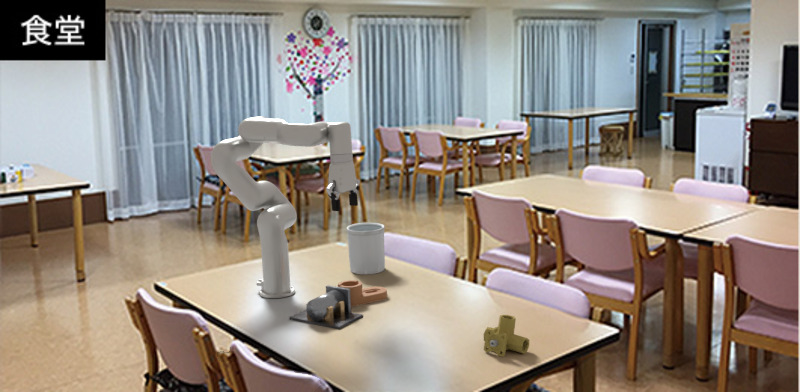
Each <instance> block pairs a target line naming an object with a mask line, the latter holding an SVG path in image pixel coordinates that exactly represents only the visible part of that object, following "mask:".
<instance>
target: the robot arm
mask: <svg viewBox="0 0 800 392" xmlns="http://www.w3.org/2000/svg"><path fill="white" fill-rule="evenodd" d="M351 128H352V127H351V124H350V123H349V121H336V122H335V121H334V122H330V121H329V122H328V121H317V122H313V123H309V124H307V123H306V124H305V123H288V122H287V121H285V120H284V119H282V118H267V117H266V116H261V115H260V116H259V115H258V116H253V117H248V118H245V119H243V120H242V121H241V122H240V123H239V124H238V128H237V129H238V131H237V132H238V136H235V137H233V138H227V139H224V140H221V141H219V142H217V143H216V145H214V147H212V151H211V154H210V160H211V161H210V162H211V167H212V169H213V171H214V172H215V174H216V175H217V176H218V177H219V179H220V180H221V181H222V182H224V184H225V186H227V187H228V188H229V189H230V191H231V193H233V194H234V196H235V197H236V198H237V199H238V200H239V201H240V203H241V204H242V205H243V206H244V208H246V209H247V210H249V211H251V212H255V211H258V210H261V209H263V210H262V211H261V212H260V214H258V217H257V220H256V226H257V230H258V235H259V242H260V248H261V249H260V250H261V251H260V252H261V266H262V267H261V268H262V278H259V279H258V281H257V282H256V286H259V287H261V289H260V290H259V295H260V296H261V297H263V298H266V299H282V298H287V297H290V296H292V295H294V294H295V292H296V289H295V287H294V286H292V285H291V273H290V258H289V257H290V256H289V255H290V254H289V244H288V238H287V236H286V233H285V231H286V230H287V229H289V228H291V227H292V226H293V225H294V224H296V221H297V218H298V217H297V216H298V215H297V214H298V213H297V210H296V209H295V207H294V206H293V204H292V203H291V202H290V201H289V199H288V198H287V197H286V196H285V195H284V194H283V193H282V192H281V190H280V189H279V188H278V187H277V186H276V185H275V184H274V183H273V182H271V181H268V180H259V181H256V180H255V179H254V178H253V177H252V176H251V175H250V174H249V172H248V171H247V170H246V169H244V167H242V166H240V165H238V163H237V162H241V161H244V160H246V159H248V158H250V157H251V156H252V155H253V154H254V153H256V151H257V150H258V149H260V147H261V146H262V145H264V144H277V145H285V146H293V147H306V148H307V147H309V148H311V147H316V146H317V147H318V146H320V145H323V144H328V143H329V144H328V145H329V157H330V163H329V168H328V185H327V187H325V190H326V193H327V195H328V197H329V200H331V210H332V211H333V212H340V211H341V200H340V199H339V198H340V195H341V194H343V193H348V192H349V194H348V201H349V206H354V207H356V206H358V205H359V203H358V202H359V201H358V194H359V189H360V184H361V180H360V179H359V178H357V176H356V169H355V163H354V158H353V157H354V156H353V144H352V131H351V130H352V129H351Z"/></svg>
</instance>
